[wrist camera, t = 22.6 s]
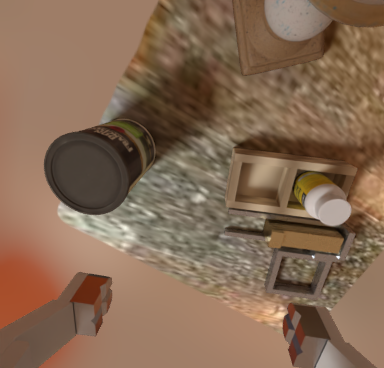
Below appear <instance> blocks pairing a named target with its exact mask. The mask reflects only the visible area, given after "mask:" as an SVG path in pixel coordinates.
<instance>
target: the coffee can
mask: <svg viewBox="0 0 384 368" xmlns="http://www.w3.org/2000/svg"><path fill="white" fill-rule="evenodd" d="M155 154H156V149H155V143H154V140H153V138H152V136H151V134H150V133H149V132H148V130H147V129H146V128H145V127H144V126H142V125H141V124H139V123H138V122H136V121H134V120H130V119H116V120H113V121H111V122H108V123H105V124H101V125H98V126H95V127H92V128H88V129H85V130H82V131H79V132H72V133H68V134H65V135H62V136H60V137H59V138H57V139H56V140H55V141H54V142H53V143H52V144H51V145H50V146H49V148H48V150H47V152H46V155H45V159H44V171H45V177H46V180H47V182H48V184H49V186H50V188H51V190H52V191H53V193H54V194H55V195H56V197H57V198H58V199H59V200H60V201H61V202H63V203H64V204H65V205H66V206H68V207H70V208H71V209H73V210H75V211H78V212H80V213H83V214H89V215H101V214H105V213H108V212H111V211H113V210H114V209H116V208H117V207H118V206H120V205H121V204H122V202H123V201H124V200H125V198H126V196H127V195H128V193H129V192H130V191H131V190H132V188H133V187H134V186H135V185H136V183H137V182H138V181H139V180H140V179H141V177H142V176H143V175H144V174H145V173H146V172H147V171H148V170H149V169H150V167H151V166H152V164H153V162H154V160H155Z"/></svg>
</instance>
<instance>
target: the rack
mask: <svg viewBox="0 0 384 368" xmlns="http://www.w3.org/2000/svg"><path fill="white" fill-rule="evenodd" d="M305 170H310V171H319V172H321V173H322V174H323V175H325V176H326V177H327V178H328V179H330V180H331V181H332V182H333V183H335V184H336V185H337V186H338V187H339V188H341V189H342V190H343V192H344V193H345V195H346V199H347V196H348V193H349V191H350V188H351V185H352V183H353V180H354V177H355V175H356V172H357V170H358V168H356V167H355V166H353V165H351V164H349V163H347V162H345V161H341V160H333V159H325V158H316V157H308V156H300V155H291V154H283V153H275V152H267V151H258V150H250V149H242V148H233V152H232V158H231V164H230V170H229V176H228V182H227V188H226V193H225V202H226V207H230V208H238V209H246V210H254V211H261V212H269V213H277V214H285V215H292V216H300V217H308V218H314V217H312V216H311V215H309V213H308V212H307V211H306V210H305V208H304V207H303V206H302V204H301V203H300V202H299V200H298V199H297V198H296V196H295V195H294V193H293V191H292V186H293V183H294V179H295V177H296V176H297V175H298V174H299V173H300V172H302V171H305ZM315 219H316V218H315Z"/></svg>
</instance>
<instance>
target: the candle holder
mask: <svg viewBox="0 0 384 368" xmlns="http://www.w3.org/2000/svg"><path fill="white" fill-rule="evenodd" d="M232 3H233V12H234V20H235V28H236V36H237V44H238V52H239V61H240V67H241V73H242V75H244V76H247V75H252V74H257V73H262V72H266V71H271V70H275V69H280V68H284V67H288V66H293V65H297V64H302V63H306V62H310V61H313V60H317V59H320V58H321V57H323V54H324V30H325V29H326V28H327V27H328V26H329V25H330V24H331V22H332V21H333V20H334V21H337V22H339V23H342V24H345V25H350V26H355V27H379V26H384V0H232Z"/></svg>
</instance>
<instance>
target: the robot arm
mask: <svg viewBox="0 0 384 368" xmlns="http://www.w3.org/2000/svg"><path fill="white" fill-rule="evenodd" d="M111 285H112V278H110V277H106V276H101V275H94V274H88V273H82V272H79V273H77V274H76V275H75V276H74V278H73V279H72V280H71V282H70V283H69V284H68V286H67V287H66V288H65V290H64V291H63V292H62V294H61V295H60V296H59V298H58V299H57V300H52V301H50V302H48V303H47V304H45V305H43V306H41V307H40V308H38V309H36V310H34V311H32V312H30V313H29V314H27V315H25V316H23V317H22V318H20V319H18V320H16V321H15V322H13V323H11V324H9V325H7V326H5V327H4V328H2V329H0V368H38V367H39V366H40V365H42V364H43V363H44V362H45V361H46V360H48V359H49V358H50V357H51V356H52V355H53V354H55V353H56V352H57V351H58V350H59V349H61V348H62V347H63V346H64V345H65V344H66V343H68V341H70V340H71V339H72V338H73V337H75V336H76V334H80V335H88V336H96V335H97V333H98V331H99V329H100V327H101V325H102V323H103V319H102V316H104V315H105V314H106V313H107V312H108V310H109V308H110V304H111V301H112V290H111V289H110V287H111ZM287 310H288V314H287V315H285V316H284V320H283V334H284V337H285V340H286V341H287V342H288V343H289V344H290V346H289V349H288V351H289V355H290V358H291V361H292V365H293V366H294V367H300V368H376V367H375V366H374V365H373V364H372V363H371V362H370V361H369V360H367V359H366V358H365V357H364V356H363V355H362V354H361V353H359V352H358V351H357V350H356V349H355V348H354V347H353V346H352V345H350V344H349V343H346V342H345V341H344V339H343V337H342V336H341V334H340V332H339V330H338V328H337V326H336V324H335V322H334V321H333V319H332V317H331V315H330V313H329V311H328V309H327V308H326V307H321V306H312V305H306V304H298V303H290V304H289V305H288V307H287Z"/></svg>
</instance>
